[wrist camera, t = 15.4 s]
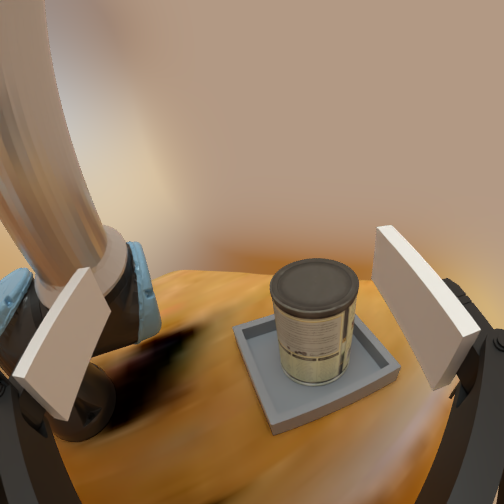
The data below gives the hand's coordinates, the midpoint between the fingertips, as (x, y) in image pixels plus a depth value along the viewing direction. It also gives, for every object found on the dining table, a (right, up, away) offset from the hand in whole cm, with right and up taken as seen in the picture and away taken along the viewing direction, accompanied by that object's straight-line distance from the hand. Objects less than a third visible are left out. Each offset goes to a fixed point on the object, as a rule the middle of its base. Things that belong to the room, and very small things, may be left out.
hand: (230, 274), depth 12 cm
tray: (+10, -15, +27) cm, 33 cm away
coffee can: (+10, -15, +27) cm, 32 cm away
